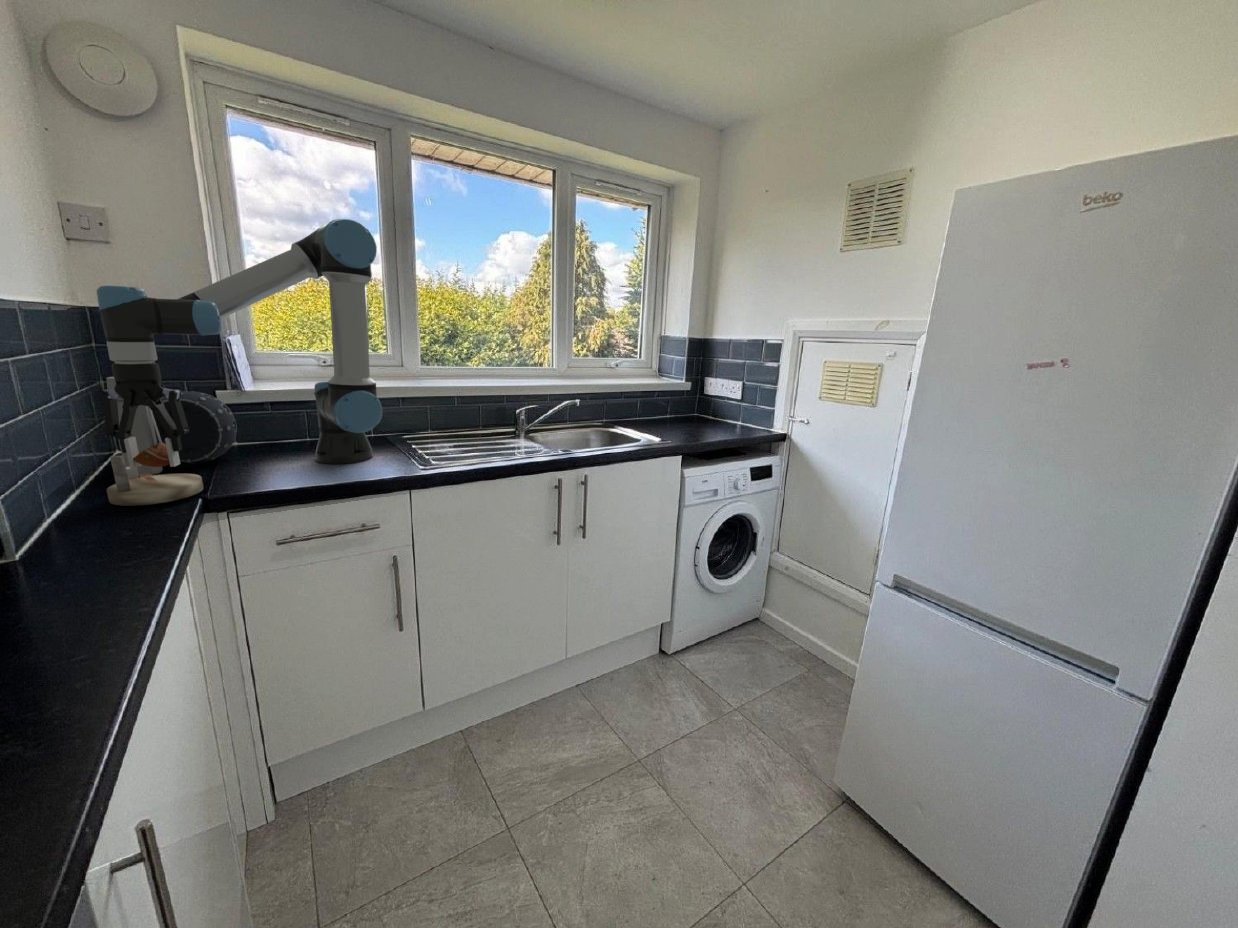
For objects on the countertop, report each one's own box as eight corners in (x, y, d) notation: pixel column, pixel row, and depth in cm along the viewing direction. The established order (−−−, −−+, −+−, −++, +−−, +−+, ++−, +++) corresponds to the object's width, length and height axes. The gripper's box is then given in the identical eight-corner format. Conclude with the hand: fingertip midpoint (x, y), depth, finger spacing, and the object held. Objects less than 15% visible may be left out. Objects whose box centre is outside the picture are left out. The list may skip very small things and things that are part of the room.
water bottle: (116, 478, 129) (93, 378, 122) (142, 470, 136) (122, 375, 130) (156, 478, 130) (135, 379, 123) (179, 470, 137) (160, 376, 131)
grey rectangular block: (141, 487, 123) (137, 467, 121) (127, 490, 120) (123, 469, 119) (136, 485, 124) (132, 466, 122) (123, 488, 122) (118, 468, 120)
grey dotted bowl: (231, 465, 144) (219, 393, 139) (144, 468, 138) (128, 394, 133) (246, 456, 154) (235, 389, 148) (165, 459, 148) (151, 389, 143)
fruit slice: (164, 471, 113) (160, 448, 112) (126, 472, 111) (122, 450, 109) (182, 461, 120) (179, 441, 119) (147, 463, 118) (143, 441, 117)
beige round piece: (164, 479, 126) (156, 439, 124) (220, 488, 121) (213, 446, 118) (82, 498, 111) (71, 454, 109) (141, 509, 106) (131, 463, 104)
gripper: (197, 361, 116) (214, 460, 122) (89, 360, 110) (112, 463, 116) (181, 364, 109) (199, 468, 115) (64, 362, 103) (90, 472, 109)
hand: (155, 465), depth 115 cm, fingers closed on fruit slice, 7 cm apart
